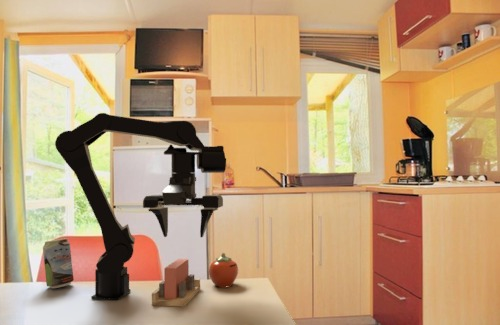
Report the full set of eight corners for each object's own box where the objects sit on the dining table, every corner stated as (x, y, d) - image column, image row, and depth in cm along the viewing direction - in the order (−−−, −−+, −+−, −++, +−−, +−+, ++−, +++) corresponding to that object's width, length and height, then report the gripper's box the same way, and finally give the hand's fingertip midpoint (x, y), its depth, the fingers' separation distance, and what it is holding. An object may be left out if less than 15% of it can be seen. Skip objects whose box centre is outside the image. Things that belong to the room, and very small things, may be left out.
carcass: (151, 305, 79) (151, 286, 79) (171, 288, 91) (171, 271, 91) (184, 306, 78) (184, 287, 78) (200, 289, 90) (200, 272, 90)
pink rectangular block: (175, 298, 80) (175, 268, 80) (164, 298, 80) (164, 268, 80) (188, 286, 89) (188, 259, 89) (178, 286, 89) (178, 258, 89)
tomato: (231, 291, 88) (230, 257, 89) (203, 287, 91) (203, 255, 91) (242, 282, 95) (242, 251, 96) (216, 279, 98) (216, 249, 98)
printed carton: (62, 291, 89) (62, 241, 90) (36, 289, 91) (36, 240, 91) (79, 283, 95) (79, 236, 96) (54, 282, 97) (54, 236, 97)
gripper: (132, 173, 85) (132, 242, 84) (212, 172, 82) (212, 243, 82) (152, 173, 96) (152, 234, 95) (223, 172, 93) (223, 235, 93)
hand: (183, 236), depth 91 cm, fingers open, 9 cm apart
